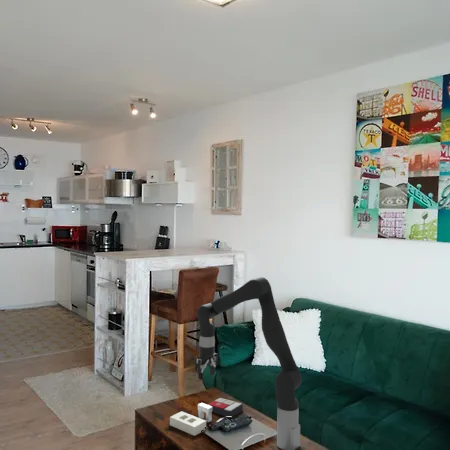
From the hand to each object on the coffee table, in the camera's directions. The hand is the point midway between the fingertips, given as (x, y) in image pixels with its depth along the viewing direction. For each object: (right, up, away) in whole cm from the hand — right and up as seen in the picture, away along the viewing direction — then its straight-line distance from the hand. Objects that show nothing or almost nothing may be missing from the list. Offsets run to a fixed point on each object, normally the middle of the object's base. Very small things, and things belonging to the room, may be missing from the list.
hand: (206, 377), depth 225 cm
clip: (-1, -21, 0) cm, 21 cm away
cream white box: (-9, -21, -8) cm, 24 cm away
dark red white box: (+9, -21, +10) cm, 25 cm away
